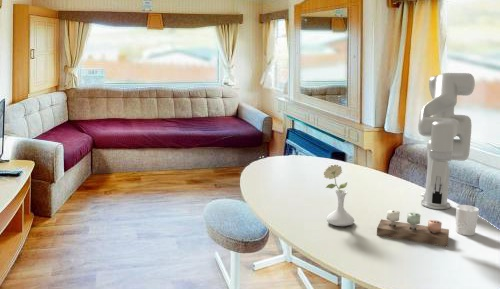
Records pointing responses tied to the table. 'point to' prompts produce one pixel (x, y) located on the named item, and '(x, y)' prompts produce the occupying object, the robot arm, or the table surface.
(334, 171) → the flower in vase
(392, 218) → the plunger
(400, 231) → the button board
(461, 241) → the table surface
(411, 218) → the plunger
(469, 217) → the white cup
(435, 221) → the plunger
